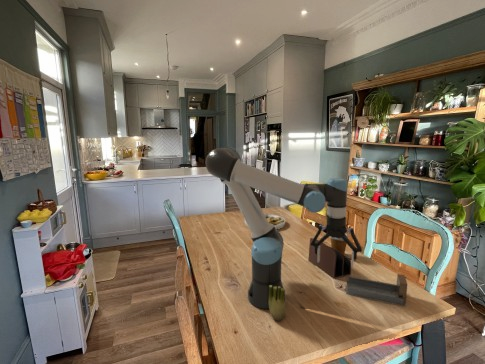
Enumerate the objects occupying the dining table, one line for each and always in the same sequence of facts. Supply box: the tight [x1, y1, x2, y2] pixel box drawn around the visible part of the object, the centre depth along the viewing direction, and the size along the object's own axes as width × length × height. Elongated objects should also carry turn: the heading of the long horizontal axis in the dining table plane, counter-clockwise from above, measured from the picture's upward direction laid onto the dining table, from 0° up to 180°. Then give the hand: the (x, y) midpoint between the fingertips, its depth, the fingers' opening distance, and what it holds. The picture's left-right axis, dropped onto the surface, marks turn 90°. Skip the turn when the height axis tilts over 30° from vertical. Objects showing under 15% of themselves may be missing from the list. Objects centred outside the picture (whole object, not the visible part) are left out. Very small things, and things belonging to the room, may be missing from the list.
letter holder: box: [307, 237, 352, 280], centre depth 126 cm, size 10×20×14 cm, turn 20°
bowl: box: [244, 213, 286, 231], centre depth 190 cm, size 30×30×8 cm
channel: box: [345, 273, 408, 307], centre depth 105 cm, size 10×21×9 cm, turn 66°
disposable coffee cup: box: [329, 232, 349, 255], centre depth 141 cm, size 10×10×12 cm
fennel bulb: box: [268, 285, 287, 321], centre depth 92 cm, size 6×5×12 cm
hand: (335, 263), depth 110 cm, fingers open, 13 cm apart
